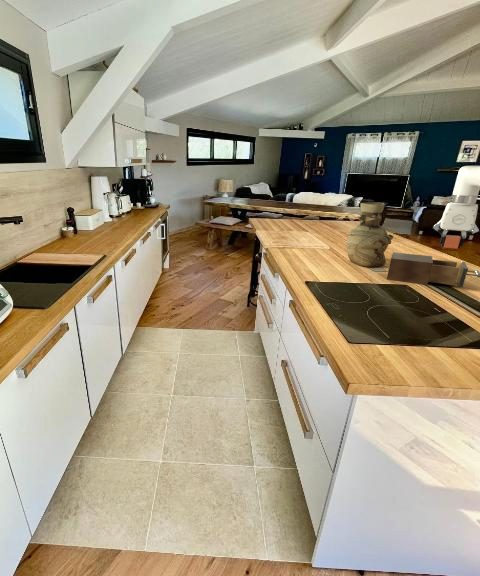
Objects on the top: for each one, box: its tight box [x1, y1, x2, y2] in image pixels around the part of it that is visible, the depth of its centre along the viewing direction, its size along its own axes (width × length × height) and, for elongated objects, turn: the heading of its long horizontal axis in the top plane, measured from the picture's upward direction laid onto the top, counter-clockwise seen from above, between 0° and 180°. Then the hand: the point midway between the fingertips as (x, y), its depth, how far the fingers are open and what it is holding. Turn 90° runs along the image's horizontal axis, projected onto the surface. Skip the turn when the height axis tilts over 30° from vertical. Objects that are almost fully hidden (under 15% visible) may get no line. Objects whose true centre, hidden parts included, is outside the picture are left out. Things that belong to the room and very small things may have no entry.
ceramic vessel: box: [346, 202, 394, 268], centre depth 157 cm, size 19×21×30 cm
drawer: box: [428, 258, 480, 289], centre depth 129 cm, size 18×11×8 cm, turn 56°
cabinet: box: [386, 251, 434, 286], centre depth 137 cm, size 15×13×10 cm
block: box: [442, 234, 461, 250], centre depth 126 cm, size 4×4×4 cm
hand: (450, 246), depth 126 cm, fingers closed on block, 4 cm apart
